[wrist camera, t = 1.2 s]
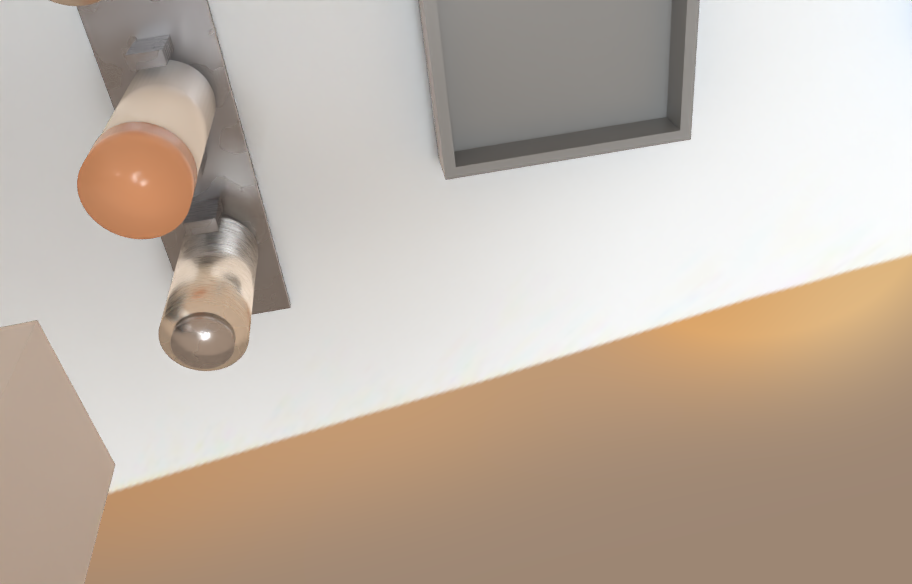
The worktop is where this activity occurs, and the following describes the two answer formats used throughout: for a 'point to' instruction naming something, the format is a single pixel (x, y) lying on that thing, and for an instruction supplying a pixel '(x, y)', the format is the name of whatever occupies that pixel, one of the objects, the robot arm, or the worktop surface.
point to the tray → (556, 78)
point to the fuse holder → (197, 184)
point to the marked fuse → (149, 153)
